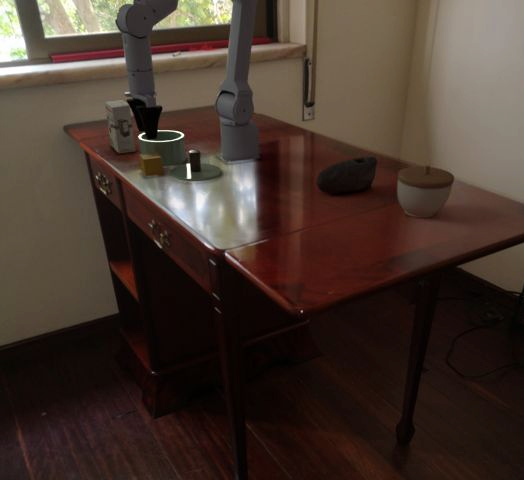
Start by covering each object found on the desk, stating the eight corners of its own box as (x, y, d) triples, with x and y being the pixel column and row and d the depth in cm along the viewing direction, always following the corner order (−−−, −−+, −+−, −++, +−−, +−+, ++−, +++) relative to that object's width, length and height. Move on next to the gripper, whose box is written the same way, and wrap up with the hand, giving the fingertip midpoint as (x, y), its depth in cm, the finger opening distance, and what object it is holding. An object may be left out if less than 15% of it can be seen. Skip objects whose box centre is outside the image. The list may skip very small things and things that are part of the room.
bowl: (178, 153, 143) (176, 128, 140) (191, 165, 135) (189, 138, 131) (137, 158, 139) (133, 133, 136) (148, 170, 131) (144, 143, 127)
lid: (211, 165, 135) (209, 142, 132) (228, 179, 126) (227, 155, 123) (164, 171, 131) (162, 147, 127) (179, 186, 122) (177, 161, 118)
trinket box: (437, 226, 103) (447, 178, 97) (385, 215, 107) (391, 168, 102) (452, 209, 110) (462, 163, 105) (403, 199, 115) (410, 155, 109)
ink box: (110, 146, 149) (103, 101, 142) (127, 144, 151) (121, 99, 144) (118, 154, 143) (111, 107, 136) (136, 151, 145) (130, 105, 138)
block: (158, 170, 131) (156, 152, 128) (163, 175, 128) (161, 157, 125) (141, 173, 130) (138, 154, 127) (145, 178, 126) (143, 159, 124)
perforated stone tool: (320, 199, 115) (322, 166, 111) (310, 191, 119) (312, 159, 115) (381, 191, 119) (385, 159, 115) (369, 184, 123) (373, 153, 119)
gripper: (114, 66, 119) (123, 129, 127) (129, 75, 109) (138, 144, 117) (145, 64, 122) (152, 126, 130) (162, 73, 111) (169, 140, 119)
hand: (147, 134), depth 123 cm, fingers open, 7 cm apart
